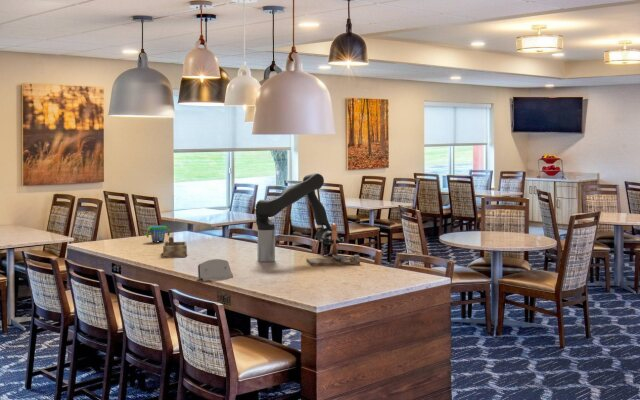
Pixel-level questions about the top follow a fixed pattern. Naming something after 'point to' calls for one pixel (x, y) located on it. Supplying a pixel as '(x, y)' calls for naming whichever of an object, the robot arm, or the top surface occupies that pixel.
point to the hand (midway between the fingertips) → (335, 242)
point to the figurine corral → (175, 249)
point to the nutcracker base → (333, 261)
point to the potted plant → (157, 232)
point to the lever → (335, 243)
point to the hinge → (214, 270)
